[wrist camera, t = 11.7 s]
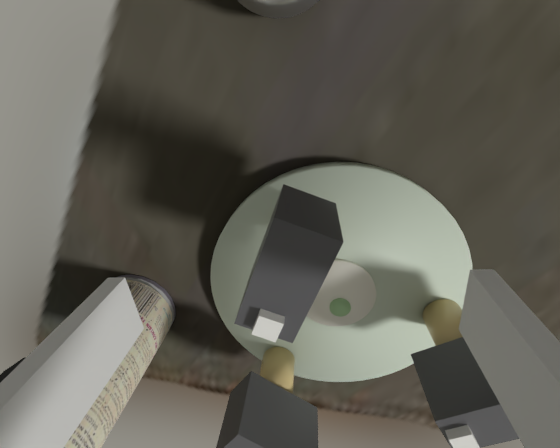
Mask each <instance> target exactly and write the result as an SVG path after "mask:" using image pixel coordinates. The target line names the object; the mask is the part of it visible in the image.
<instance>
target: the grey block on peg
mask: <svg viewBox="0 0 560 448" xmlns="http://www.w3.org/2000/svg"><path fill="white" fill-rule="evenodd" d="M461 314H462V309H461V307H460V306H459V305H458V304H457V303H456V302H454V301H452V300H448V299H440V300H436V301H433V302H431V303H430V304H428V305H427V306H426V307H425V309H424V311H423V314H422V317H423V320H424V322H425V324H426V327H427V329H428V331H429V333H430V335H431V337H432V339H433V341H434V344H435V346H434V347H431V348H428V349H425V350H422V351H419V352H416V353H413V354H411V357H412V359H413V362H414V365H415V368H416V370H417V373H418V376H419V379H420V381H421V384H422V387H423V390H424V392H425V395H426V398H427V401H428V403H429V406H430V409H431V412H432V414H433V417H434V420H435V422H436V424H437V425H438V427H439V429H440V430H441V432H442V433H443V435H444V437H445V438H446V440H447V442H448V443H449V445H450V446H451V448H480V447H485V446H489V445H493V444H498V443H502V442H506V441H511V440H515V439H519V437H518V435H517V433H516V432H515V430H514V428H513V426H512V424H511V423H510V421H509V419H508V417H507V415H506V414H505V412H504V410H503V408H502V406H501V405H500V403H499V401H498V399H497V397H496V396H495V394H494V392H493V390H492V388H491V387H490V385H489V383H488V381H487V380H486V378H485V376H484V374H483V372H482V371H481V369H480V367H479V365H478V363H477V362H476V360H475V358H474V356H473V354H472V353H471V351H470V349H469V347H468V345H467V344H466V342H465V340H464V338H463V336H462V335H461V333H460V331H459V324H460V319H461Z"/></svg>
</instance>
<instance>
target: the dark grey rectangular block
mask: <svg viewBox="0 0 560 448" xmlns="http://www.w3.org/2000/svg"><path fill="white" fill-rule="evenodd" d="M342 244H343V237H342V232H341V227H340V222H339V217H338V212H337V207H336V203H334V202H331V201H328V200H326V199H323V198H320V197H317V196H315V195H312V194H309V193H306V192H304V191H301V190H298V189H296V188H293V187H290V186H287V185H285V184H283V187H282V189H281V192H280V195H279V197H278V200H277V203H276V205H275V208H274V211H273V214H272V216H271V219H270V222H269V224H268V227H267V230H266V232H265V235H264V238H263V241H262V243H261V246H260V249H259V251H258V254H257V257H256V259H255V262H254V265H253V268H252V270H251V273H250V276H249V279H248V282H247V286H246V289H245V292H244V295H243V298H242V301H241V304H240V307H239V311H238V314H237V317H236V320H235V323H234V324H236V325H239V326H242V327H245V328H248V329H251V330H252V335H255V336H258V337H261V338H264V339H267V340H270V341H273V342H276V340H277V338H278V339H281V340H284V341H287V342H290V343H293V342H294V340H295V338H296V336H297V334H298V332H299V330H300V328H301V326H302V324H303V322H304V320H305V318H306V316H307V314H308V312H309V310H310V308H311V306H312V304H313V302H314V300H315V298H316V296H317V294H318V292H319V290H320V288H321V286H322V284H323V282H324V280H325V278H326V276H327V274H328V272H329V270H330V268H331V266H332V264H333V262H334V260H335V258H336V256H337V254H338V252H339V250H340V248H341V246H342Z"/></svg>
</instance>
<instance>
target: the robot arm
mask: <svg viewBox="0 0 560 448" xmlns="http://www.w3.org/2000/svg"><path fill="white" fill-rule="evenodd" d="M143 329H144V327H143V324H142V321H141V319H140V316H139V313H138V311H137V308H136V305H135V303H134V300H133V297H132V295H131V292H130V289H129V287H128V284H127V281H126V279H125V277H117V278H107V279H106V280H105V281H104V282H103V283H102V284H101V285H100V286H99V287H98V288H97V289H96V290H95V291H94V292H93V293H92V294H91V295H90V296H89V297H88V298H87V299H86V300H85V301H84V302H82V303H81V304H80V305H79V306H78V307H77V308H76V309H75V310H74V311H73V312H72V313H71V314H70V315H69V316H68V317H67V318H66V319H65V320H64V321H63V322H62V323H61V324H60V325H59V326H58V327H57V328H56V329H55V330H54V331H53V332H52V333H51V334H50V335H49V336H48V337H47V338H46V339H45V340H44V341H43V342H42V343H41V344H40V345H38V346H37V347H36V348H35V349H34V351H32V352H31V353H30V354H29V355H28V356H27V357H26V358H23V359H21V360H20V361H18V362H17V363H16V364H14V365H13V366H11V367H10V368H8V369H7V370H5V371H4V372H3V373H2V374H1V375H0V448H64V446H65V445H66V443H67V442H68V440H69V439H70V437H71V436H72V434H73V433H74V431H75V430H76V428H77V427H78V426H79V424H80V423H81V421H82V420H83V418H84V417H85V415H86V414H87V412H88V411H89V409H90V408H91V406H92V405H93V403H94V402H95V400H96V399H97V397H98V396H99V394H100V393H101V392H102V390H103V389H104V387H105V386H106V384H107V383H108V381H109V380H110V378H111V377H112V375H113V374H114V372H115V371H116V369H117V368H118V366H119V365H120V363H121V362H122V361H123V359H124V358H125V356H126V355H127V353H128V352H129V350H130V349H131V347H132V346H133V344H134V343H135V341H136V340H137V338H138V337H139V335H140V334H141V332H142V331H143ZM459 331H460V333H461V335H462V336H463V338H464V340H465V342H466V344H467V345H468V347H469V349H470V351H471V353H472V354H473V356H474V358H475V360H476V362H477V363H478V365H479V367H480V369H481V371H482V372H483V374H484V376H485V378H486V380H487V381H488V383H489V385H490V387H491V388H492V390H493V392H494V394H495V396H496V397H497V399H498V401H499V403H500V405H501V406H502V408H503V410H504V412H505V414H506V415H507V417H508V419H509V421H510V423H511V424H512V426H513V428H514V430H515V432H516V433H517V435H518V437H519V439H520V441H521V442H522V444H523V446H524V448H560V342H559V341H558V340H557V338H556V337H555V336H554V335H553V334H552V333H551V332H550V331H549V330H548V329H547V327H546V326H545V325H544V324H543V323H542V322H541V321H540V320H539V319H538V318H537V316H536V315H535V314H534V313H533V312H532V311H531V310H530V309H529V308H528V307H527V305H526V304H525V303H524V302H523V301H522V300H521V299H520V298H519V297H518V296H517V294H516V293H515V292H514V291H513V290H512V289H511V288H510V287H509V286H508V284H507V283H506V282H505V281H504V280H503V279H502V278H501V277H500V276H499V275H498V273H497V272H496V271H495V270H494V269H480V270H470V272H469V277H468V282H467V288H466V293H465V298H464V303H463V309H462V314H461V319H460V324H459Z"/></svg>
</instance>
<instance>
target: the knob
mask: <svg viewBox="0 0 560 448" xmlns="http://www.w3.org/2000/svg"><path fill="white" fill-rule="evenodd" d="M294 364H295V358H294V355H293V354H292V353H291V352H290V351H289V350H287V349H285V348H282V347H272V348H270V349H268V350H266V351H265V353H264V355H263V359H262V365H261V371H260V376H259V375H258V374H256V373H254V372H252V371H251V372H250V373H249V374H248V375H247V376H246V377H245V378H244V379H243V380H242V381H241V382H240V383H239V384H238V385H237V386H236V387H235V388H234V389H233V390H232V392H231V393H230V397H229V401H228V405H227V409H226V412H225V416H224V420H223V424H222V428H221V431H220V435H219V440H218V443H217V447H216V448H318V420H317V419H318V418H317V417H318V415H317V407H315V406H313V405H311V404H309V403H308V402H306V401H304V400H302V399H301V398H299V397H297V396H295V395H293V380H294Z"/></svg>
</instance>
